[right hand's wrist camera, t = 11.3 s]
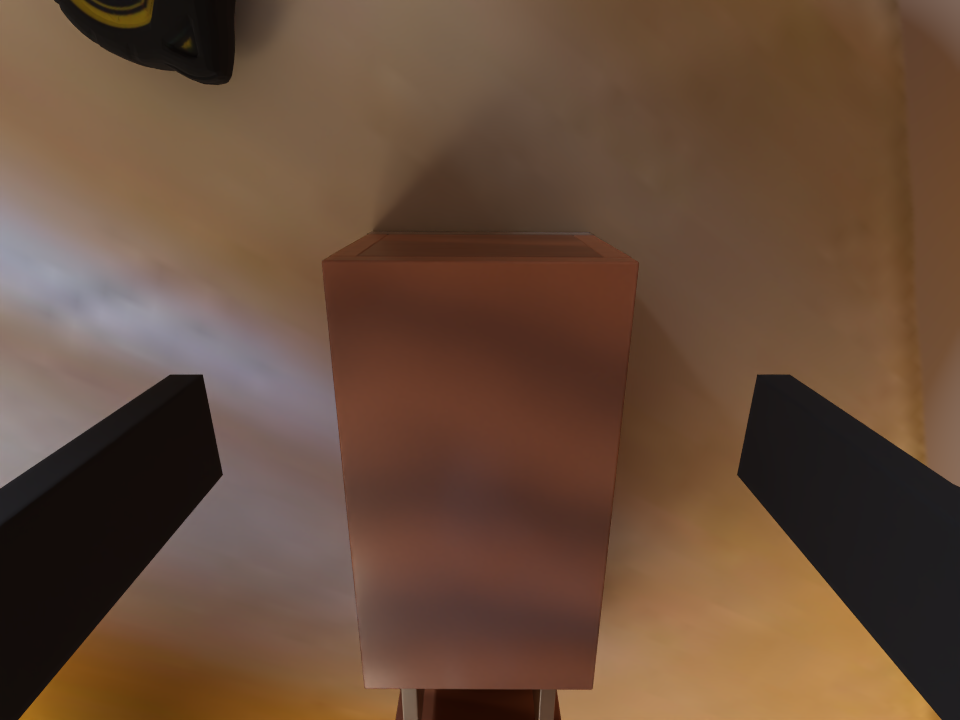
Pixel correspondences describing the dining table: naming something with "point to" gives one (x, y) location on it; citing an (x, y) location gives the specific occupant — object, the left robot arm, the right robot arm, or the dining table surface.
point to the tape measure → (162, 33)
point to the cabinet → (479, 449)
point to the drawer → (478, 704)
